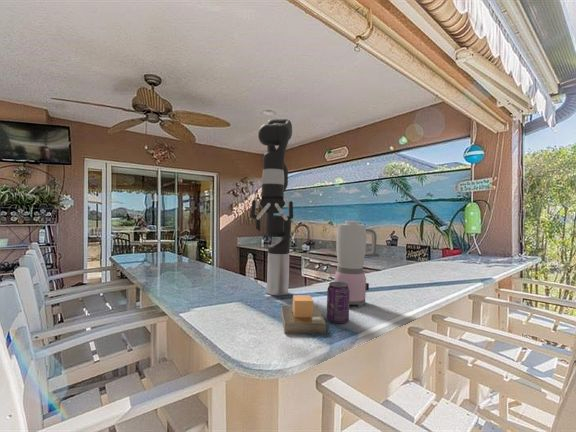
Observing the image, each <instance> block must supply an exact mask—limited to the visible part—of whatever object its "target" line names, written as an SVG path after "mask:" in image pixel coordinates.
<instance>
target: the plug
mask: <svg viewBox="0 0 576 432" xmlns="http://www.w3.org/2000/svg"><path fill="white" fill-rule="evenodd" d="M292 306H293V314H294V317H313V306H314V300H313V298H312V296H311V295H309V294H308V295H307V294H305V295H304V294H299V295H298V294H297V295H295V294H293V295H292Z"/></svg>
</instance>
